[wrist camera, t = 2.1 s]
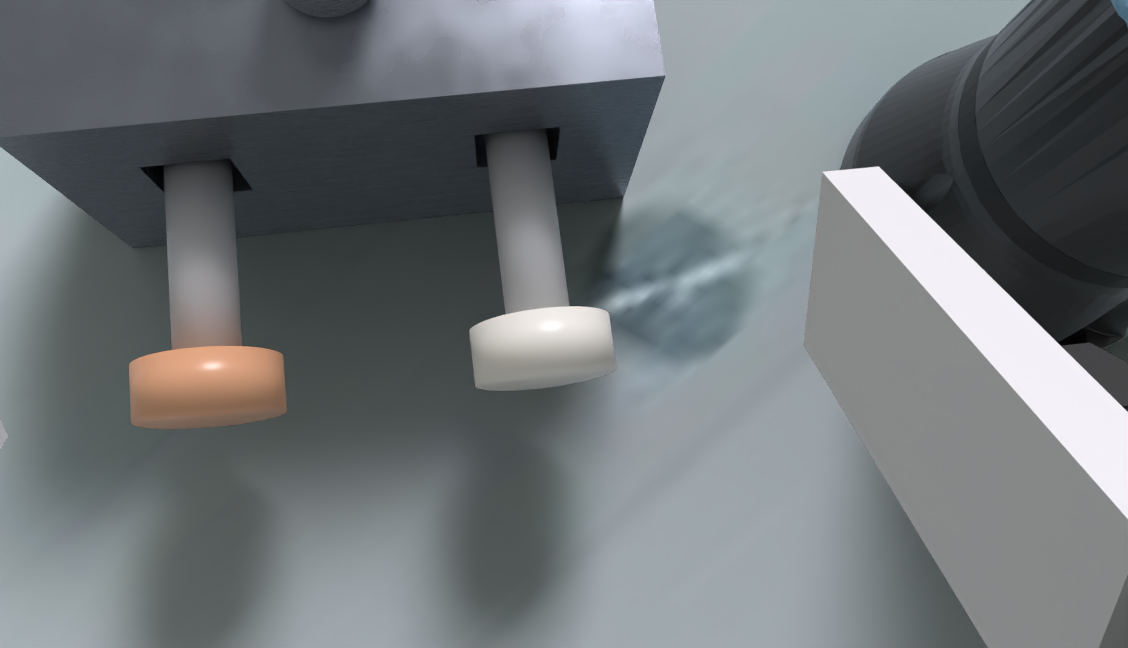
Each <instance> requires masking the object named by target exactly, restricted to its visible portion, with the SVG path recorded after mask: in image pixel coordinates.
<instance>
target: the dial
mask: <svg viewBox="0 0 1128 648" xmlns="http://www.w3.org/2000/svg"><path fill="white" fill-rule="evenodd" d="M285 1H286V2H287V3H288V4H289V5H291V6H292V7H293V8H295V9H296V10H298V11H300V12H302V13H305V14H307V15H311V16H315V17H324V18H329V17H337V16H342V15H345V14H348V13H350V12H353V11H355V10H356V9H358V8H359V7H361V6H362V5H363V4H365V3H366V2H367V1H368V0H285Z"/></svg>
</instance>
